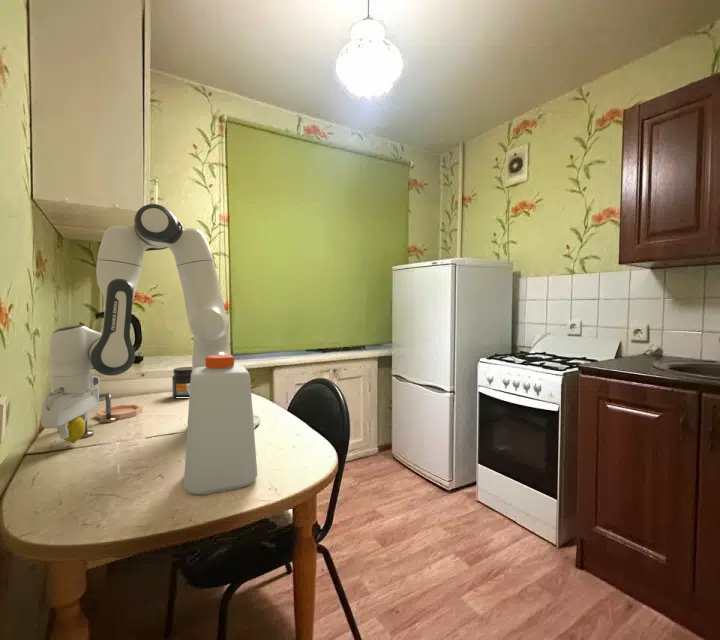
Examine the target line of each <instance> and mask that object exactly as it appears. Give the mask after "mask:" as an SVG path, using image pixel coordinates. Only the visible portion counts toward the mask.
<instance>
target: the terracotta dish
mask: <svg viewBox="0 0 720 640" xmlns="http://www.w3.org/2000/svg"><path fill="white" fill-rule="evenodd" d="M139 413H140V414H141V413H143V406H141V405H138V404H136V403H135V404H134V403H133V404H117V405H111V417H116V421H117V420H122V419H128V417H129V418H133V417H136V416H138V415H140V414H139ZM95 414H96V418H97V419H99V420H101V419H102V418H105V417H106V407H103V408H101V409H100V410H98V411H96V412H95Z"/></svg>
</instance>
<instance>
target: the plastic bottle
mask: <svg viewBox="0 0 720 640" xmlns="http://www.w3.org/2000/svg"><path fill="white" fill-rule="evenodd" d="M251 384H252V383H251V375H250V372H249V371H248V369H247V368H246V367H245V366H243V365H240V364H235V356H233V355H230V354H229V355H212V356H208V357H206V367H198V368H195V369H194V370H193V371H192V372H191V380H190V395H189V398H188V399H189V400H188V415H187V429H186V443H185V444H186V446H185V460H184V461H185V462H184V472H183V473H184V478H183V487H184V489H185V491H186V492H187V493H188V494H192V495H194V496H195V495H196V496H203V495H208V494H213V493H215V494H216V493H220V492H225V491H231V490H237V489H241V488H245V487H247V486H250V485H251V484H253V483H254V482H255V480H256V479H257V477H258V466H257V465H258V464H257V451H256V449H257V448H256V438H255V436H256V435H255V429H254V423H253V414H254V409H253V399H252V388H251V387H252V386H251Z"/></svg>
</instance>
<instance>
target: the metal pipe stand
mask: <svg viewBox="0 0 720 640" xmlns="http://www.w3.org/2000/svg"><path fill="white" fill-rule="evenodd" d="M111 397H112V396H111V394H110V392H107V393H99V399H100V398H101V399H102V398H105V408H106V417H105V418H102V419H100V423H101V424H111V423H115V422H116V421H117V420H116V417H111V407H112V405H111V404H112V402H111V401H112V399H111ZM94 432H95V431H94V430H92V429H88V417H87V418H86V421H85V433H84V435H83V436H82V437H81V438H80V439H85V438H86V439H87V438H90V437H93V436H94Z"/></svg>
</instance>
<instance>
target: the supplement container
mask: <svg viewBox="0 0 720 640" xmlns="http://www.w3.org/2000/svg"><path fill="white" fill-rule="evenodd" d="M172 371H173V376H171V380H172V383H171V385H172V386H171V387H172V394H171V395H172V397H173V396H174V397H189V395H190V380H191V372H192V366H183V367H182V366H181V367H176V368H173V370H172ZM174 397H173V398H174Z"/></svg>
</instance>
